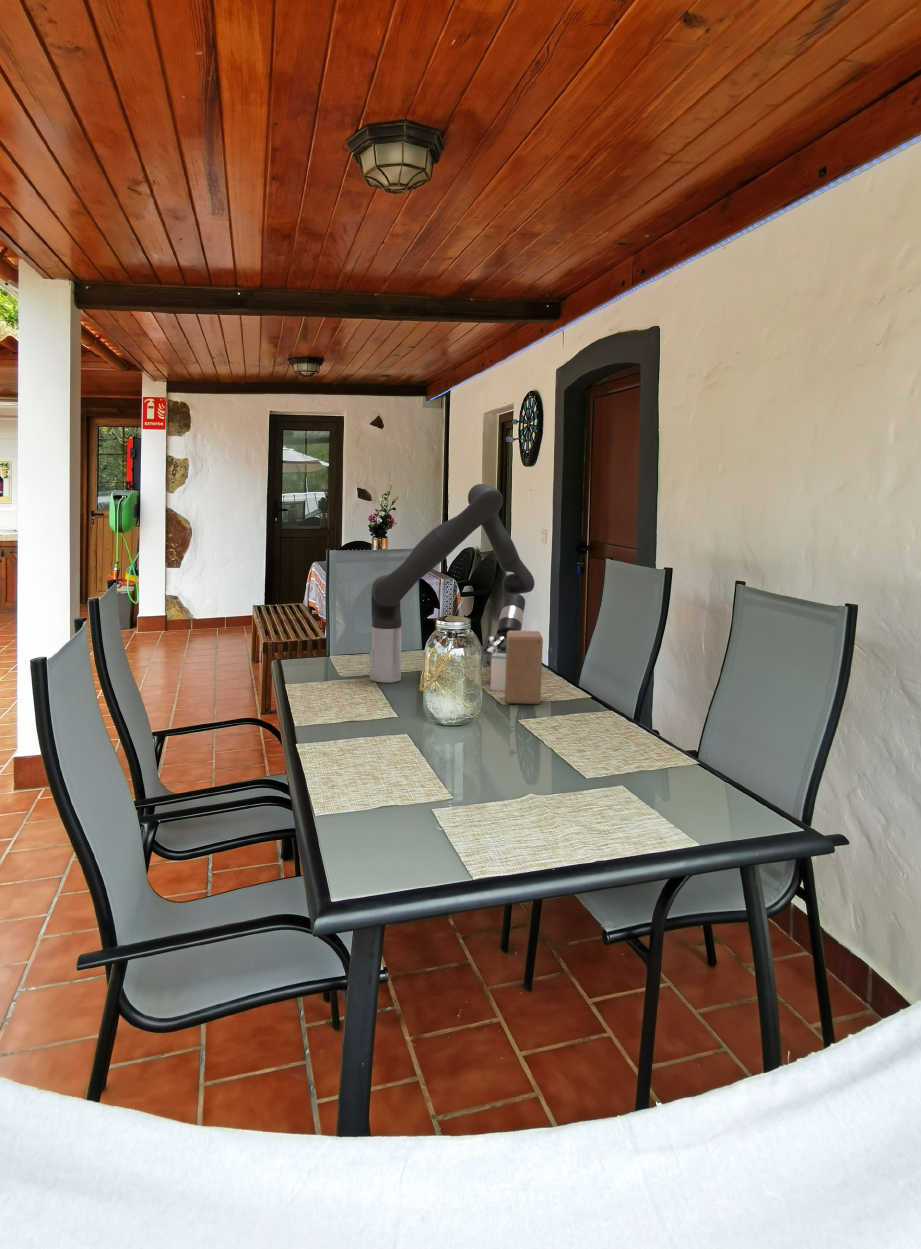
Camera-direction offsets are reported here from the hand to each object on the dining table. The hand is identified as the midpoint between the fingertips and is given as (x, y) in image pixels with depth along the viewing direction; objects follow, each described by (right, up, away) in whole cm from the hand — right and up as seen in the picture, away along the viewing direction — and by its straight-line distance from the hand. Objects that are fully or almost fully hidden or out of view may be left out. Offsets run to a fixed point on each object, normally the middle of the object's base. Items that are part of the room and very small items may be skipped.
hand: (502, 665), depth 252 cm
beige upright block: (-1, -7, -1) cm, 7 cm away
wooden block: (+5, -10, -13) cm, 17 cm away
